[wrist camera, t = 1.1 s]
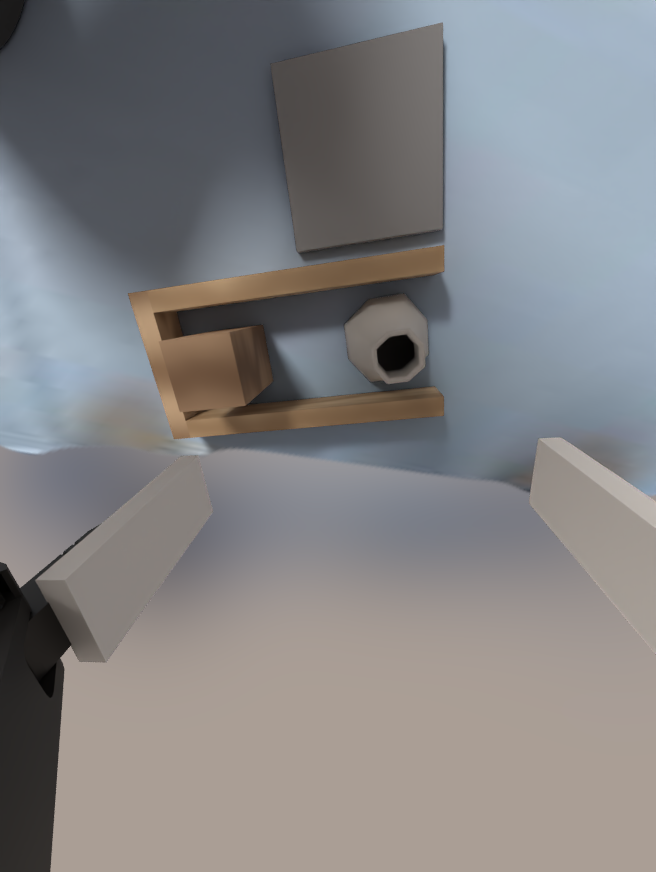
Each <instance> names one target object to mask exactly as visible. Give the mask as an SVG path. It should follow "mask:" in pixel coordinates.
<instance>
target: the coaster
mask: <svg viewBox="0 0 656 872" xmlns="http://www.w3.org/2000/svg"><path fill="white" fill-rule="evenodd" d="M270 65H271V72H272V79H273V86H274V93H275V100H276V107H277V115H278V122H279V129H280V136H281V143H282V150H283V157H284V164H285V171H286V178H287V186H288V193H289V200H290V207H291V214H292V221H293V228H294V235H295V242H296V249H297V252H298V253H303V252H309V251H315V250H321V249H328V248H334V247H340V246H347V245H353V244H359V243H366V242H372V241H378V240H384V239H391V238H397V237H403V236H410V235H416V234H422V233H429V232H435V231H441V230H442V229H443V23H438V24H434V25H430V26H426V27H422V28H418V29H413V30H409V31H405V32H401V33H397V34H392V35H388V36H384V37H380V38H376V39H372V40H367V41H363V42H359V43H355V44H351V45H347V46H342V47H338V48H334V49H330V50H326V51H321V52H317V53H313V54H309V55H305V56H301V57H296V58H292V59H288V60H284V61H280V62H275V63H271V64H270Z"/></svg>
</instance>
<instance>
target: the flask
mask: <svg viewBox="0 0 656 872" xmlns="http://www.w3.org/2000/svg"><path fill="white" fill-rule="evenodd" d="M344 330H345V338H346V346H347V354H348V359H349V360H350V361H351V362H352V364H353V365H354V366H355V367H356V368H357V369H358V370H359V371H360V372H361V373H362V374H363V375H364V376H365V377H366V378H367V379H368V380H369V381H370V382H375V381H383V380H384V381H385V382H386V383H387V384H393V383H401V382H409V381H410V380H411V379H412V378H413V377H414V376H415V375H417V374H418V373H419V372H420V371H421V370H422V369H423V368H424V367H425V358H426V357H427V356H428V355H429V349H428V324H427V319H426V318H425V316H424V315H423V314H422V313H421V312H420V311H419V310H418V308H417V307H416V306H415V305H414V304H413V303H412V302H411V300H410V299H409V298H408V297H407V296H406V295H405V293H402V294H396V295H390V296H384V297H378V298H372V299H368V300H367V301H366V302H365V303H364V305H363V306H362V307H361V308H360V309H359V310H358V311H357V312H356V313H355V314H354V315H353V316H352V317H351V318H350V319H349V320H348V321H347V322H346V323H345V324H344Z"/></svg>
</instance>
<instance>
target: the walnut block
mask: <svg viewBox="0 0 656 872" xmlns="http://www.w3.org/2000/svg"><path fill="white" fill-rule="evenodd" d="M159 345H160V348H161V351H162V355H163V358H164V361H165V364H166V368H167V371H168V374H169V378H170V381H171V384H172V388H173V391H174V394H175V398H176V401H177V404H178V408H179V411H180V412H188V411H198V410H208V409H218V408H228V407H239V406H246V405H247V404H248V403H249V402H251V401H252V400H253V399H254V398H255V397H256V396H257V395H258V394H260V393H261V392H262V391H263V390H264V389H265V388H266V387H267V386H268V385H270V384H271V383H272V382H273V375H272V370H271V365H270V359H269V354H268V349H267V343H266V338H265V333H264V327H263V325H256V326H249V327H241V328H233V329H226V330H218V331H211V332H205V333H200V334H194V335H189V336H184V337H179V338H174V339H168V340H163V341H159Z"/></svg>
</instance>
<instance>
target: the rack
mask: <svg viewBox="0 0 656 872" xmlns="http://www.w3.org/2000/svg"><path fill="white" fill-rule="evenodd" d="M441 272H444V245H442V246H436V247H429V248H422V249H416V250H409V251H403V252H396V253H390V254H383V255H377V256H370V257H364V258H357V259H350V260H344V261H337V262H331V263H324V264H318V265H311V266H305V267H298V268H292V269H285V270H278V271H272V272H265V273H259V274H252V275H246V276H239V277H233V278H226V279H220V280H213V281H206V282H200V283H193V284H187V285H180V286H174V287H167V288H161V289H154V290H148V291H141V292H134V293H128V296H129V299H130V302H131V305H132V308H133V311H134V315H135V318H136V321H137V324H138V327H139V330H140V333H141V337H142V340H143V343H144V346H145V349H146V352H147V355H148V359H149V362H150V365H151V368H152V371H153V374H154V377H155V381H156V384H157V387H158V390H159V393H160V396H161V399H162V403H163V406H164V409H165V412H166V415H167V418H168V421H169V425H170V428H171V431H172V434H173V437H174V439H181V438H193V437H204V436H216V435H227V434H239V433H251V432H262V431H274V430H285V429H297V428H308V427H320V426H331V425H343V424H354V423H366V422H378V421H389V420H401V419H412V418H424V417H435V416H444V396H443V395H442V394H441V393H440V392H439V391H438V389H437V388H436V387H435V386H433V387H423V388H413V389H403V390H392V391H382V392H372V393H362V394H352V395H342V396H331V397H321V398H311V399H301V400H291V401H281V402H270V403H260V404H250V405H246V406H239V407H228V408H218V409H208V410H198V411H188V412H180V411H179V408H178V404H177V401H176V398H175V394H174V391H173V388H172V384H171V381H170V378H169V374H168V371H167V368H166V364H165V361H164V358H163V355H162V351H161V348H160V345H159V341H163V340H168V339H174V338H179V337H183V334H182V330H181V326H180V323H179V319H178V315H177V312H178V311H185V310H192V309H199V308H206V307H213V306H220V305H227V304H234V303H241V302H248V301H255V300H262V299H269V298H276V297H283V296H290V295H297V294H305V293H312V292H319V291H326V290H333V289H340V288H347V287H354V286H361V285H368V284H375V283H382V282H389V281H396V280H403V279H410V278H417V277H424V276H432V275H436V274H438V273H441Z"/></svg>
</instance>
